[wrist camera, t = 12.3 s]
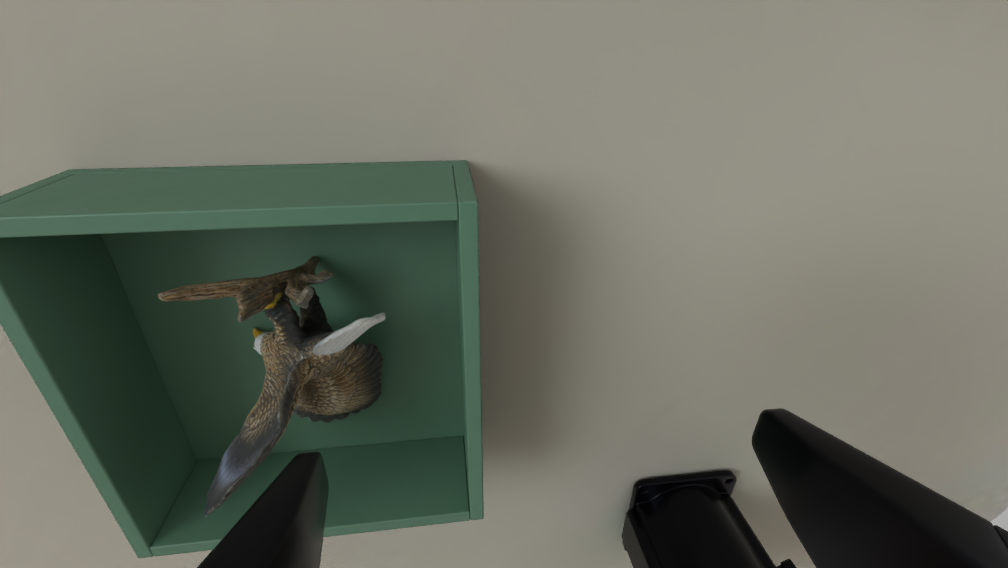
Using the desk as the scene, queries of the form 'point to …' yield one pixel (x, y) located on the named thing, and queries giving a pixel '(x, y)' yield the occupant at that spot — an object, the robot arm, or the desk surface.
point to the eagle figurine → (291, 364)
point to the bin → (250, 334)
